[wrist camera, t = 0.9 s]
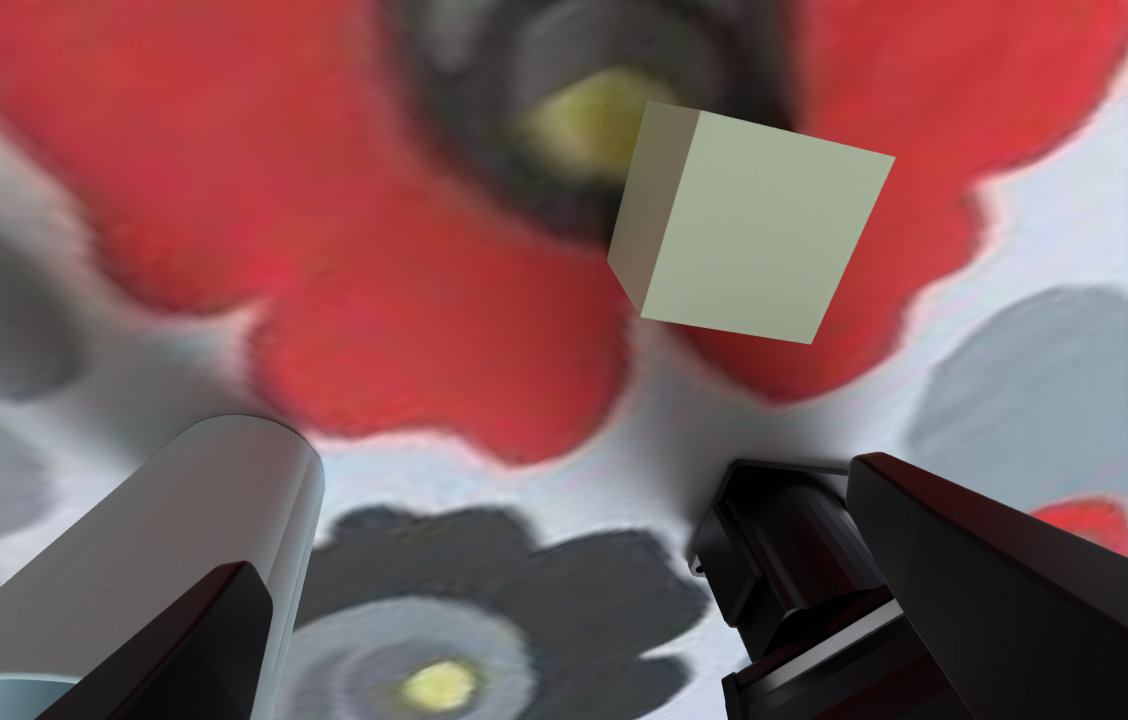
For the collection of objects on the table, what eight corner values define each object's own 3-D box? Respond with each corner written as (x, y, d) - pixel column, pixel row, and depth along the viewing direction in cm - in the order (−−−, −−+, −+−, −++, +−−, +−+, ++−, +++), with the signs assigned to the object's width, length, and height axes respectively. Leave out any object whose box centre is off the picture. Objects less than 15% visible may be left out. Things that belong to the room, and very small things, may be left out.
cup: (119, 519, 21) (-168, 861, 12) (152, 355, 18) (-188, 639, 9) (321, 566, 23) (211, 884, 14) (379, 427, 21) (289, 711, 11)
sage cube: (794, 135, 17) (895, 157, 13) (739, 283, 20) (811, 344, 15) (646, 100, 16) (701, 110, 12) (606, 259, 19) (640, 317, 14)
